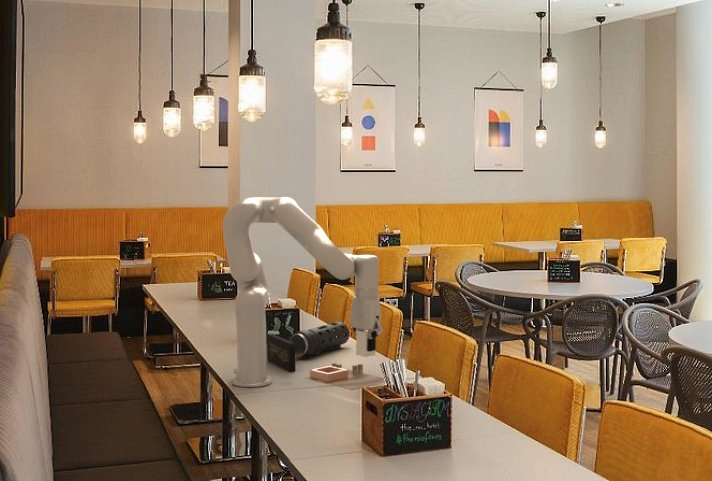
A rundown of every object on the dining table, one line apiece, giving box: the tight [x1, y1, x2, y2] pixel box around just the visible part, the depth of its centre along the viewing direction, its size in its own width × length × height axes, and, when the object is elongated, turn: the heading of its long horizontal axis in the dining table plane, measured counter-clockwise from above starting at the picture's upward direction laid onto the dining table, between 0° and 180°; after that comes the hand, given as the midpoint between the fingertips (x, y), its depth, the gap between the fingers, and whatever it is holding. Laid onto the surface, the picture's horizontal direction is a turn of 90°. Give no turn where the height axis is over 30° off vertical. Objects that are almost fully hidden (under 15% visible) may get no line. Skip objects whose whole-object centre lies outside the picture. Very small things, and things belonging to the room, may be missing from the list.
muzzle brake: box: [288, 321, 350, 358], centre depth 335 cm, size 10×28×10 cm, turn 148°
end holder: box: [309, 365, 349, 382], centre depth 292 cm, size 9×9×2 cm
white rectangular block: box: [355, 329, 376, 358], centre depth 288 cm, size 4×4×8 cm
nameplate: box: [266, 333, 296, 373], centre depth 313 cm, size 21×2×10 cm, turn 28°
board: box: [304, 362, 386, 391], centre depth 290 cm, size 23×18×4 cm
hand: (365, 348), depth 288 cm, fingers closed on white rectangular block, 4 cm apart
